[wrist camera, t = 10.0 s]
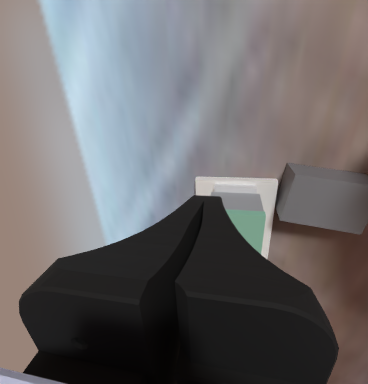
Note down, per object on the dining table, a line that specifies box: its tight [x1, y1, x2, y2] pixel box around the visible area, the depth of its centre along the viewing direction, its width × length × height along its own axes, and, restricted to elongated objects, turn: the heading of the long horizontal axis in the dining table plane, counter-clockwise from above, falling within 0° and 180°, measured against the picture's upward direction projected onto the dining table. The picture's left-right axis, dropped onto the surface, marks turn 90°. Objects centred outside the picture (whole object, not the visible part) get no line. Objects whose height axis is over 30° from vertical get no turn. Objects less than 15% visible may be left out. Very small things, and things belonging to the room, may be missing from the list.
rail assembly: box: [195, 177, 278, 259], centre depth 21 cm, size 7×15×5 cm, turn 2°
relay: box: [275, 163, 368, 235], centre depth 18 cm, size 6×4×3 cm, turn 84°
